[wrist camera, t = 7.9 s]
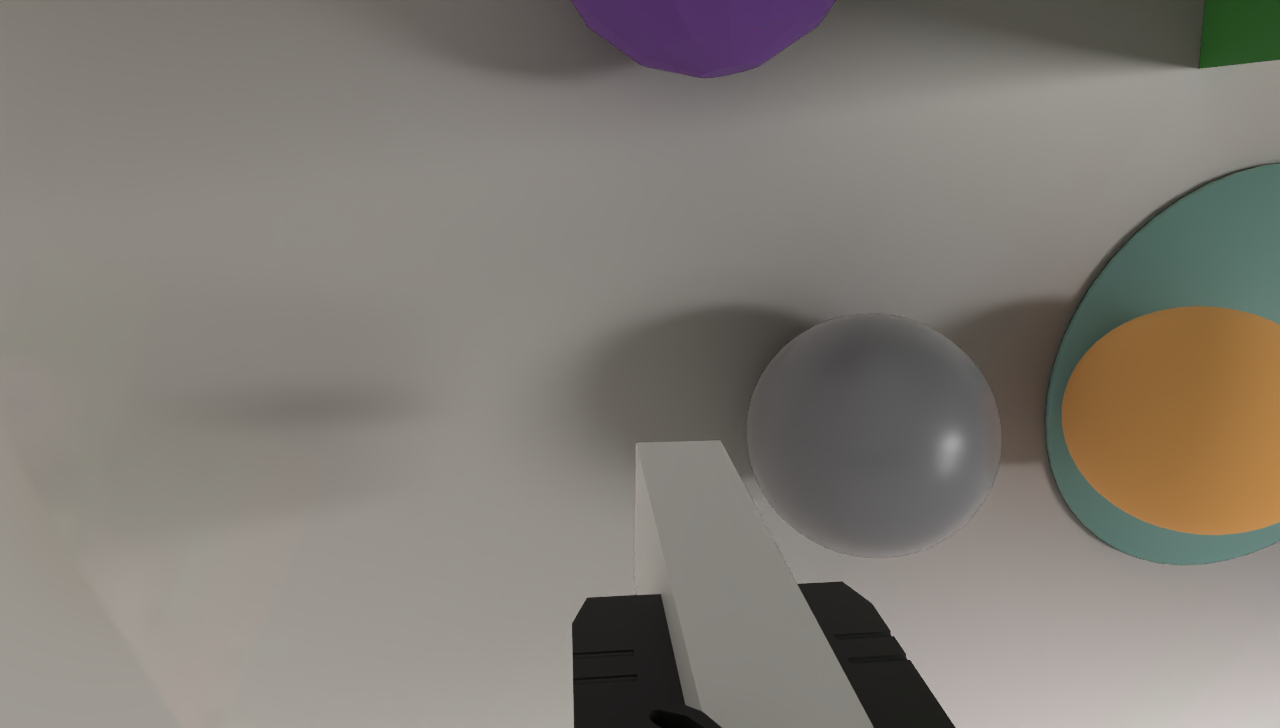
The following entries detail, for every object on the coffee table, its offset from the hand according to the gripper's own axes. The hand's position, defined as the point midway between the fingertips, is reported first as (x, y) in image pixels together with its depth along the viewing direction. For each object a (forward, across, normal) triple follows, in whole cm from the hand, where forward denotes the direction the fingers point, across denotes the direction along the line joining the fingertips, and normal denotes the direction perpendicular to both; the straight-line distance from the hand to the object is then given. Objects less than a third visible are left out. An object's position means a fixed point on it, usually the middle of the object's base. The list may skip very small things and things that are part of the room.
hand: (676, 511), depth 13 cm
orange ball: (+4, +13, 0) cm, 14 cm away
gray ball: (+3, +5, 0) cm, 6 cm away
